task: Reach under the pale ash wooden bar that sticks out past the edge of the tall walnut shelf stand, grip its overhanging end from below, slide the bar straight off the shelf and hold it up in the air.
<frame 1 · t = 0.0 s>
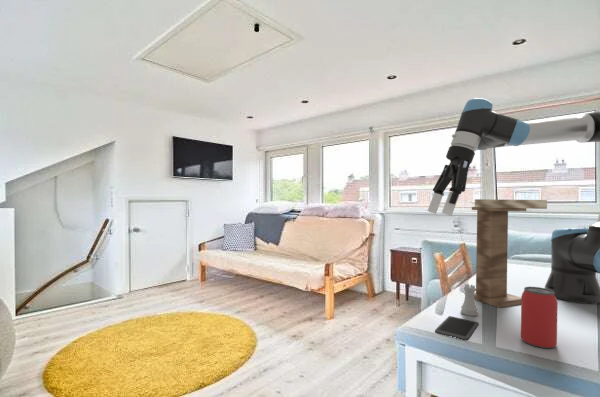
hand: (438, 213, 101), 28 cm above the table, tool tilted 20°, fingers open, 13 cm apart
ash bar: (507, 207, 102), point 30 cm above the table, touching shelf stand
rook chess piece: (469, 314, 92), on the table
shelf stand: (497, 300, 104), on the table
beer can: (538, 343, 73), on the table
cell phone: (457, 330, 81), on the table
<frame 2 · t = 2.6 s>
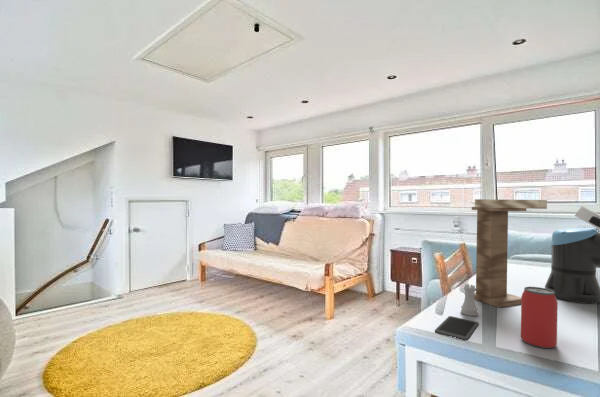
hand: (593, 211, 82), 30 cm above the table, tool pointing upward, fingers open, 13 cm apart
nothing on the table moved.
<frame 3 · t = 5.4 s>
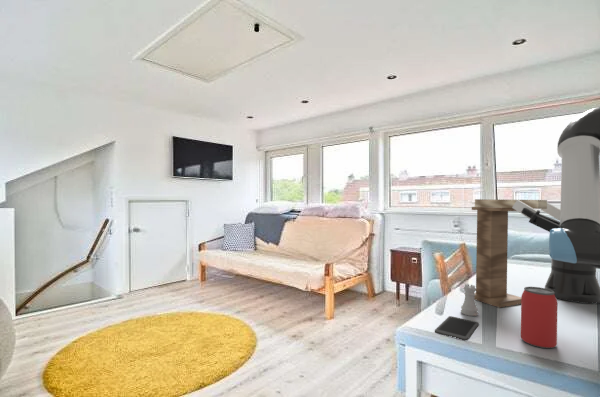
hand: (530, 204, 96), 31 cm above the table, tool pointing upward, fingers open, 13 cm apart
nothing on the table moved.
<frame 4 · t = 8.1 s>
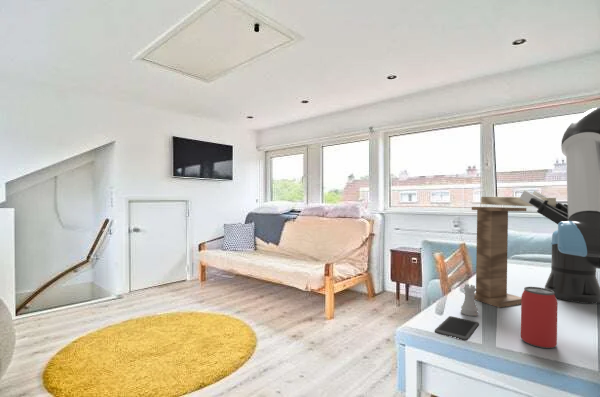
hand: (527, 194, 96), 34 cm above the table, tool pointing upward, fingers closed on ash bar, 4 cm apart
ash bar: (515, 205, 99), point 31 cm above the table, touching gripper
everything else where it was.
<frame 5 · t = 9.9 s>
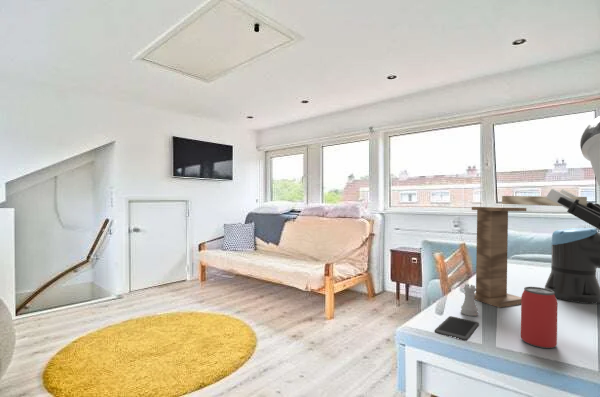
hand: (554, 193, 90), 34 cm above the table, tool pointing upward, fingers closed on ash bar, 4 cm apart
ash bar: (540, 205, 93), point 31 cm above the table, touching gripper
everything else where it was.
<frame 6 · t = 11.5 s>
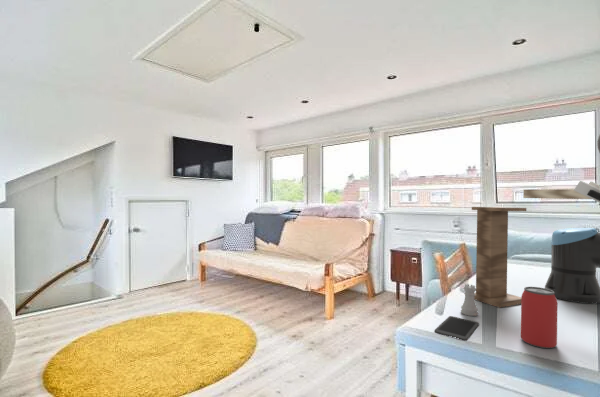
hand: (583, 186, 84), 36 cm above the table, tool pointing upward, fingers closed on ash bar, 4 cm apart
ash bar: (566, 198, 87), point 33 cm above the table, touching gripper
everything else where it was.
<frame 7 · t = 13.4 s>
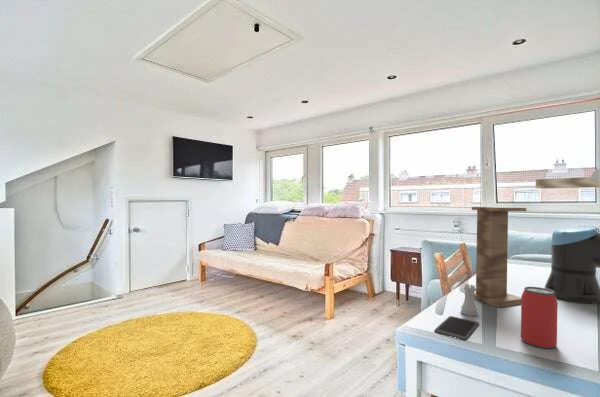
hand: (599, 173, 81), 39 cm above the table, tool pointing upward, fingers closed on ash bar, 4 cm apart
ash bar: (581, 187, 84), point 36 cm above the table, touching gripper
everything else where it was.
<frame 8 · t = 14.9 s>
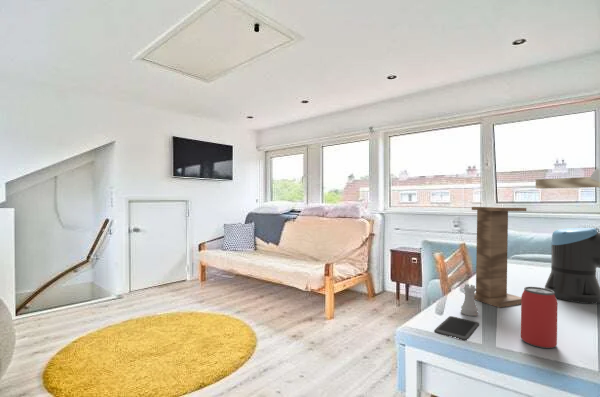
hand: (599, 173, 81), 39 cm above the table, tool pointing upward, fingers closed on ash bar, 4 cm apart
ash bar: (581, 187, 84), point 36 cm above the table, touching gripper
everything else where it was.
at the end: the gripper is holding ash bar; ash bar touching gripper; ash bar point 35.8 cm above the table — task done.
